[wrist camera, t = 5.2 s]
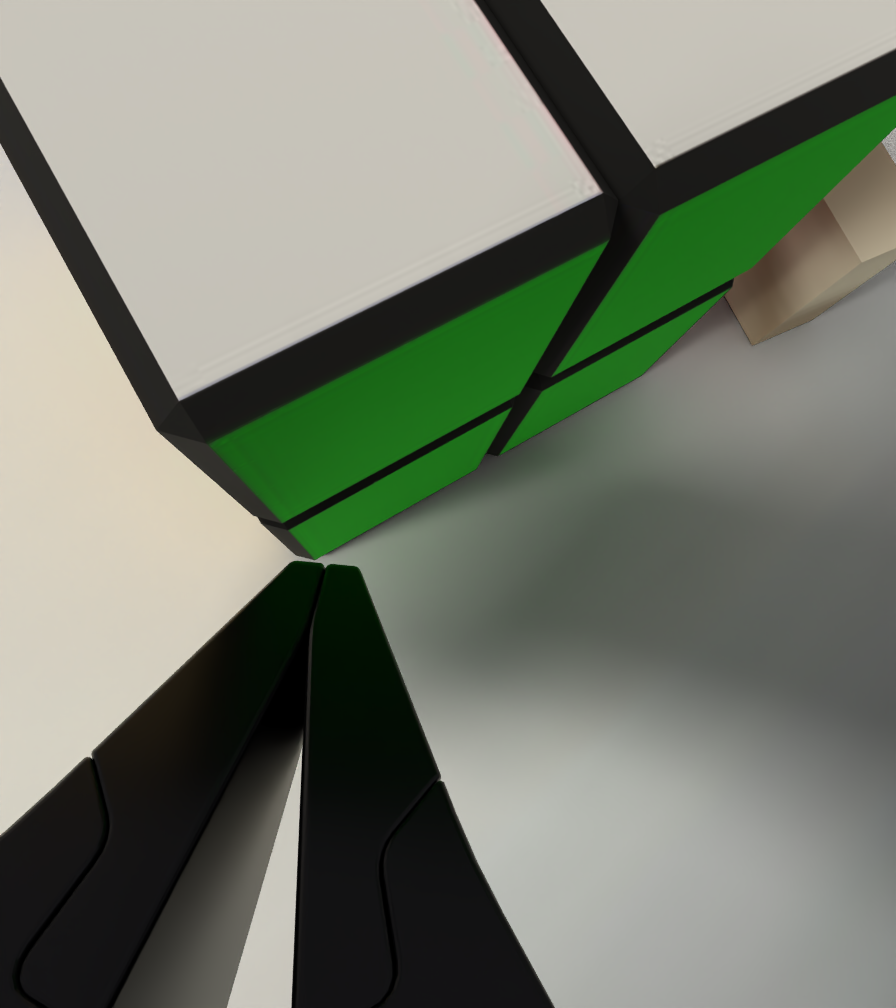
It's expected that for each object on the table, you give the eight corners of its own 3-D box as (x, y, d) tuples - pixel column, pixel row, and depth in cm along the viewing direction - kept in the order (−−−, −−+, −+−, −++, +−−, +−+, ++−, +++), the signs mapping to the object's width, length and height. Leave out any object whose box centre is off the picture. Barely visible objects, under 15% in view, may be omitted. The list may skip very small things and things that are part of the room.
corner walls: (812, 319, 18) (936, 230, 14) (165, 600, 14) (86, 589, 11) (523, -184, 20) (557, -382, 16) (-88, -36, 17) (-230, -238, 13)
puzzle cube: (451, 75, 18) (535, -580, 8) (647, 374, 17) (1014, 24, 7) (108, 222, 16) (-305, -402, 6) (303, 569, 15) (163, 453, 5)
